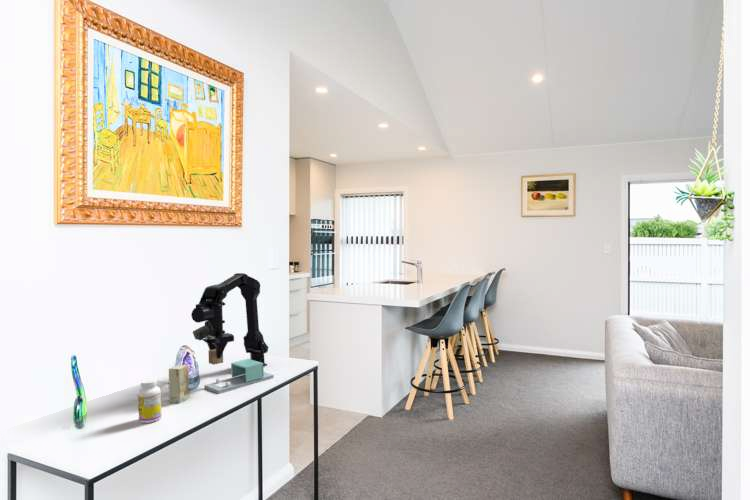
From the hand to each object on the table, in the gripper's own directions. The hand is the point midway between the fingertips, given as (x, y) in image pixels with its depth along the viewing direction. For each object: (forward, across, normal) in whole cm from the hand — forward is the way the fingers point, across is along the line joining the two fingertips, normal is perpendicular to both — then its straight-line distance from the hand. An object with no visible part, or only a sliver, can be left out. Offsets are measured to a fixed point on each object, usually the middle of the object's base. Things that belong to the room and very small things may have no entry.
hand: (216, 357), depth 187 cm
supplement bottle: (+12, +16, -32) cm, 37 cm away
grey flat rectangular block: (+11, +4, +8) cm, 14 cm away
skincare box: (+12, +4, -17) cm, 21 cm away
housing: (+10, +4, +12) cm, 16 cm away
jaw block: (+2, 0, 0) cm, 2 cm away
